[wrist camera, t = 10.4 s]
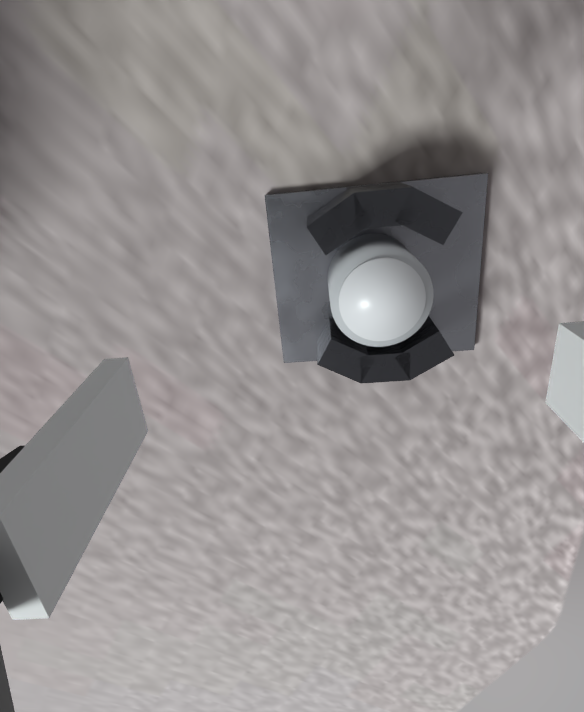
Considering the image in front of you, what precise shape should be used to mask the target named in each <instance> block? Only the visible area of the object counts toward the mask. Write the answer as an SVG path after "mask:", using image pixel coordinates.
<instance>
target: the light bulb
mask: <svg viewBox="0 0 584 712" xmlns="http://www.w3.org/2000/svg"><path fill="white" fill-rule="evenodd" d="M328 289H329V298H330V306H331V312H332V315H333V318H334V320H335V322H336V324H337V326H338V327H339V328H340V330H341V331H342V332H343V333H344V334H345V335H346V336H347V337H349V338H350V339H352V340H354V341H355V342H357V343H360V344H363V345H367V346H373V347H384V346H390V345H394V344H397V343H399V342H402V341H404V340H406V339H407V338H409V337H410V336H412V335H413V334H414V333H415V332H417V331H418V330H419V329H420V327H421V326H422V325H423V324H424V322H425V321H426V319H427V317H428V315H429V313H430V310H431V307H432V303H433V285H432V281H431V278H430V276H429V274H428V272H427V270H426V269H425V267H424V266H423V265H422V264H421V263H420V262H419V261H418V260H417V259H416V257H415V256H414V255H413V254H412V253H411V252H410V251H409V250H408V249H407V248H406V247H405V246H404V245H403V244H402V243H400V242H399V241H398V240H396V239H394V238H392V237H390V236H387V235H383V234H365V235H361V236H358V237H356V238H353V239H352V240H350V241H348V242H347V243H346V244H344V245H343V246H342V247H341V248H340V249H339V250H338V251H337V253H336V254H335V256H334V257H333V259H332V261H331V263H330V266H329V270H328Z"/></svg>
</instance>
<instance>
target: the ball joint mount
mask: <svg viewBox="0 0 584 712" xmlns="http://www.w3.org/2000/svg"><path fill="white" fill-rule="evenodd" d="M487 180H488V173H480V174H470V175H460V176H450V177H440V178H430V179H419V180H409V181H399V182H389V183H379V184H369V185H359V186H349V187H339V188H329V189H319V190H308V191H298V192H288V193H278V194H268V195H265V202H266V211H267V220H268V228H269V237H270V246H271V255H272V263H273V272H274V281H275V289H276V298H277V307H278V315H279V324H280V333H281V341H282V350H283V359H284V363H290V362H304V361H317V365H320V366H322V367H324V368H327V369H329V370H331V371H334V372H336V373H338V374H341V375H343V376H345V377H348V378H350V379H352V380H354V381H357V382H359V383H373V382H389V381H405V380H411V379H413V378H415V377H416V376H418V375H420V374H422V373H424V372H425V371H427V370H429V369H431V368H432V367H434V366H436V365H438V364H440V363H441V362H443V361H445V360H447V359H448V358H450V357H452V356H454V354H453V352H452V351H464V350H474V345H475V332H476V320H477V307H478V294H479V281H480V269H481V256H482V243H483V231H484V218H485V205H486V193H487ZM365 234H383V235H387V236H390V237H392V238H394V239H396V240H398V241H399V242H400V243H402V244H403V245H404V246H405V247H406V248H407V249H408V250H409V251H410V252H411V253H412V254H413V255H414V256H415V257H416V259H417V260H418V261H419V262H420V263H421V264H422V265H423V266H424V267H425V269H426V270H427V272H428V274H429V276H430V278H431V281H432V285H433V303H432V307H431V310H430V313H429V315H428V317H427V319H426V321H425V322H424V324H423V325H422V326H421V327H420V329H419V330H418V331H417V332H415V333H414V334H413V335H412V336H410V337H409V338H407V339H406V340H404V341H402V342H399V343H397V344H394V345H390V346H384V347H373V346H367V345H363V344H360V343H357V342H355V341H354V340H352V339H350V338H349V337H347V336H346V335H345V334H344V333H343V332H342V331H341V330H340V328H339V327H338V326H337V324H336V322H335V320H334V318H333V315H332V312H331V306H330V298H329V289H328V270H329V266H330V263H331V261H332V259H333V257H334V256H335V254H336V253H337V251H338V250H339V249H340V248H341V247H342V246H343V245H344V244H346V243H347V242H348V241H350V240H352V239H353V238H356V237H358V236H361V235H365Z"/></svg>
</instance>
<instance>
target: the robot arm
mask: <svg viewBox="0 0 584 712" xmlns="http://www.w3.org/2000/svg"><path fill="white" fill-rule="evenodd" d="M545 403H546V404H547V405H548V406H549V407H550V408H551V409H552V410H553V411H554V412H555V413H556V414H557V415H558V416H559V418H560V419H561V420H562V421H563V422H564V423H565V424H566V425H567V426H568V427H569V428H570V429H571V430H572V431H573V432H574V433H575V434H576V435H577V436H578V437H579V438H580V439H581V440H582V442H583V443H584V321H582V322H570V323H559V327H558V333H557V338H556V344H555V350H554V356H553V362H552V367H551V373H550V379H549V385H548V391H547V397H546V402H545ZM147 432H148V428H147V425H146V421H145V417H144V414H143V410H142V406H141V403H140V399H139V395H138V392H137V388H136V385H135V381H134V377H133V374H132V370H131V366H130V363H129V359H128V357H127V358H114V359H104V360H103V361H102V362H101V363H100V364H99V366H98V367H97V368H96V369H95V370H94V371H93V372H92V373H91V374H90V375H89V376H88V378H87V379H86V380H85V381H84V382H83V383H82V384H81V385H80V386H79V387H78V389H77V390H76V391H75V392H74V393H73V394H72V395H71V396H70V397H69V398H68V400H67V401H66V402H65V403H64V404H63V405H62V406H61V407H60V408H59V409H58V410H57V412H56V413H55V414H54V415H53V416H52V417H51V418H50V419H49V420H48V421H47V423H46V424H45V425H44V426H43V427H42V428H41V429H40V430H39V431H38V432H37V434H36V435H35V436H34V437H33V438H32V439H31V440H30V441H29V442H28V443H27V444H26V446H19V447H17V448H16V449H14V450H13V451H11V452H10V453H8V454H7V455H5V456H4V457H2V458H1V459H0V603H1V602H2V601H3V602H4V604H5V606H6V608H7V610H8V612H9V613H10V615H11V617H12V619H13V620H19V619H40V618H49V617H50V615H51V613H52V612H53V610H54V608H55V606H56V604H57V602H58V600H59V598H60V596H61V595H62V593H63V591H64V589H65V587H66V585H67V583H68V581H69V579H70V578H71V576H72V574H73V572H74V570H75V568H76V566H77V564H78V562H79V560H80V559H81V557H82V555H83V553H84V551H85V549H86V547H87V545H88V543H89V542H90V540H91V538H92V536H93V534H94V532H95V530H96V528H97V526H98V525H99V523H100V521H101V519H102V517H103V515H104V513H105V511H106V509H107V508H108V506H109V504H110V502H111V500H112V498H113V496H114V494H115V492H116V491H117V489H118V487H119V485H120V483H121V481H122V479H123V477H124V475H125V474H126V472H127V470H128V468H129V466H130V464H131V462H132V460H133V458H134V457H135V455H136V453H137V451H138V449H139V447H140V445H141V443H142V441H143V440H144V438H145V436H146V434H147ZM0 712H15V711H14V706H13V702H12V697H11V693H10V688H9V683H8V679H7V674H6V669H5V665H4V660H3V656H2V651H1V646H0Z"/></svg>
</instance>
